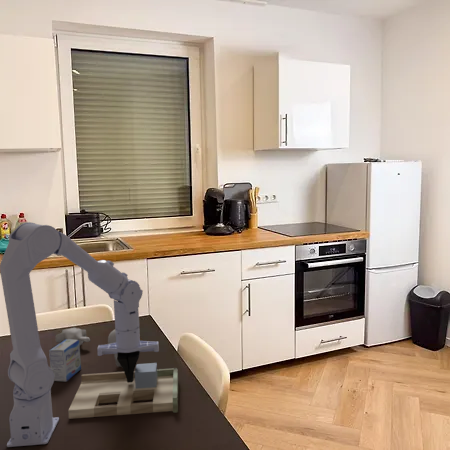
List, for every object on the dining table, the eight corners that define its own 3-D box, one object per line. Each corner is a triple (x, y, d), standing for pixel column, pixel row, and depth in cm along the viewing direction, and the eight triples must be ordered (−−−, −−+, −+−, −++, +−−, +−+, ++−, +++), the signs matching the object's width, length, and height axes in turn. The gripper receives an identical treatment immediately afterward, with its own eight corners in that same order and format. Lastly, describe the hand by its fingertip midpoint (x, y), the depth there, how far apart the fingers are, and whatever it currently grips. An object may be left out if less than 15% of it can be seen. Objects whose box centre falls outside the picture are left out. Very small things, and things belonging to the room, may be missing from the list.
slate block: (156, 387, 111) (155, 371, 111) (135, 388, 111) (134, 372, 110) (157, 377, 116) (156, 362, 116) (137, 379, 116) (136, 364, 115)
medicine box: (66, 382, 120) (64, 350, 119) (51, 381, 120) (48, 349, 119) (81, 369, 127) (79, 339, 126) (67, 368, 128) (64, 338, 127)
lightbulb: (109, 372, 124) (107, 333, 123) (109, 363, 130) (107, 326, 129) (132, 369, 126) (130, 331, 125) (131, 361, 132) (129, 324, 130)
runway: (177, 412, 103) (177, 397, 103) (68, 420, 101) (67, 405, 100) (178, 380, 118) (177, 368, 118) (83, 387, 116) (82, 374, 116)
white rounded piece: (82, 323, 154) (93, 331, 141) (83, 338, 154) (94, 347, 141) (52, 328, 150) (61, 337, 137) (54, 344, 150) (62, 354, 137)
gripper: (158, 320, 116) (160, 371, 118) (99, 323, 114) (103, 375, 116) (156, 329, 109) (159, 384, 111) (94, 333, 108) (98, 388, 109)
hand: (130, 380), depth 113 cm, fingers closed
